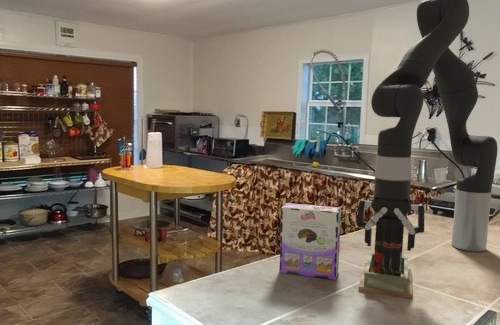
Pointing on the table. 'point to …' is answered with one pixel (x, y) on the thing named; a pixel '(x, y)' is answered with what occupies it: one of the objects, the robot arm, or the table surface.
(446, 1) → the robot arm
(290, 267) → the candy box
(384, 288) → the holder
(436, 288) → the table surface
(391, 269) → the deodorant
